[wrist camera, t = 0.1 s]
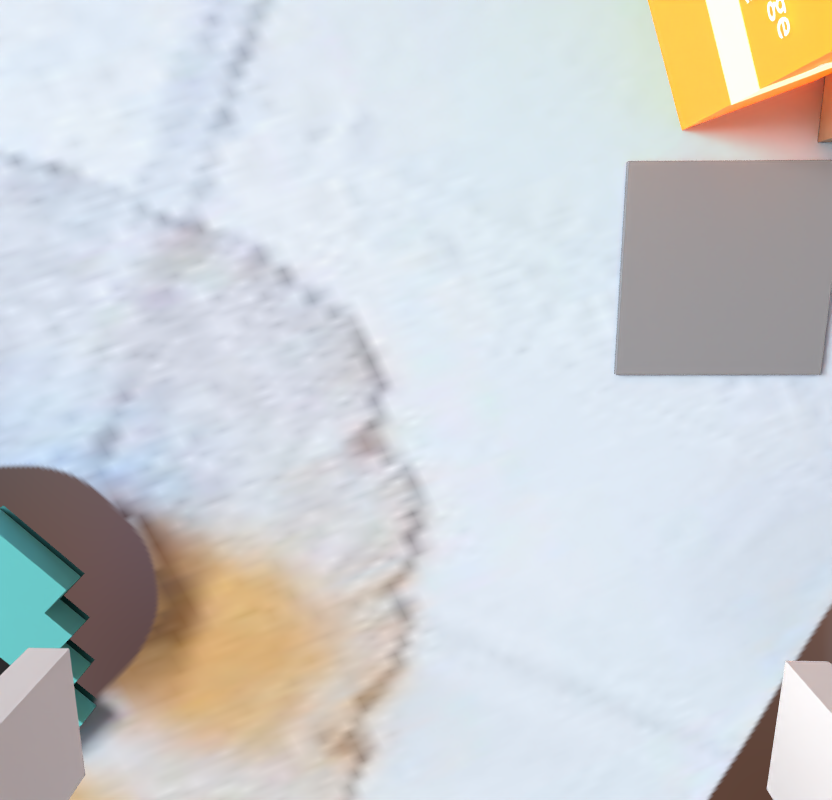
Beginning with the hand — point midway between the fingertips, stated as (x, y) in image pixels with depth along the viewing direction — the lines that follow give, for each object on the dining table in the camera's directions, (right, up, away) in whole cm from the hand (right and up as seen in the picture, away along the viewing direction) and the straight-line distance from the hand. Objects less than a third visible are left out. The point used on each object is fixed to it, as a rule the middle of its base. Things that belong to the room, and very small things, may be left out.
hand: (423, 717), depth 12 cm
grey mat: (+18, +13, +25) cm, 34 cm away
